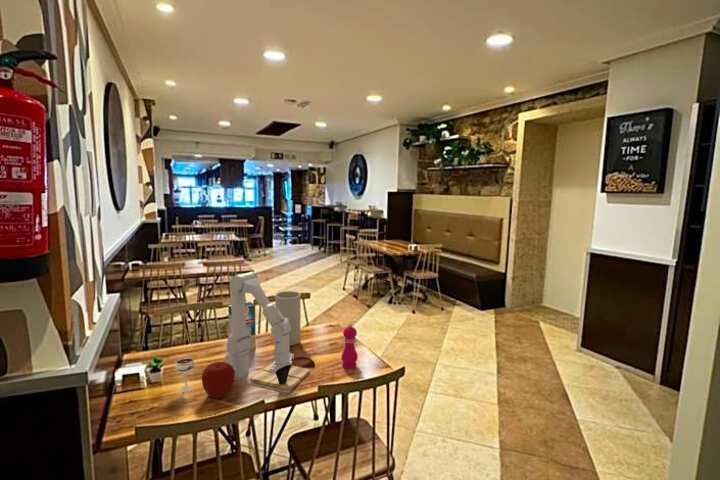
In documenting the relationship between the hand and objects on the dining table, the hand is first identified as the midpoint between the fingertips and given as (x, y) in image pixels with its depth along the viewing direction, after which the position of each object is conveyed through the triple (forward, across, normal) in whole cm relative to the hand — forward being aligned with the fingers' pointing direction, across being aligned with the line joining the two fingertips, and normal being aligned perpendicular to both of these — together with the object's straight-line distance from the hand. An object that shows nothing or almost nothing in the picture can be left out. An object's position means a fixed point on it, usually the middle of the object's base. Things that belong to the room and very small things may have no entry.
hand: (282, 383), depth 151 cm
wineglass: (+2, -15, +34) cm, 37 cm away
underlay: (+2, +7, +6) cm, 9 cm away
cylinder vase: (+2, +40, +22) cm, 46 cm away
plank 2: (+1, +2, 0) cm, 3 cm away
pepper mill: (+3, +27, -18) cm, 32 cm away
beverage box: (+2, +24, +37) cm, 44 cm away
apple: (+2, -14, +19) cm, 24 cm away
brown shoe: (+3, +24, +6) cm, 24 cm away
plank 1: (+1, +2, +10) cm, 10 cm away
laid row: (+2, +11, +5) cm, 13 cm away
